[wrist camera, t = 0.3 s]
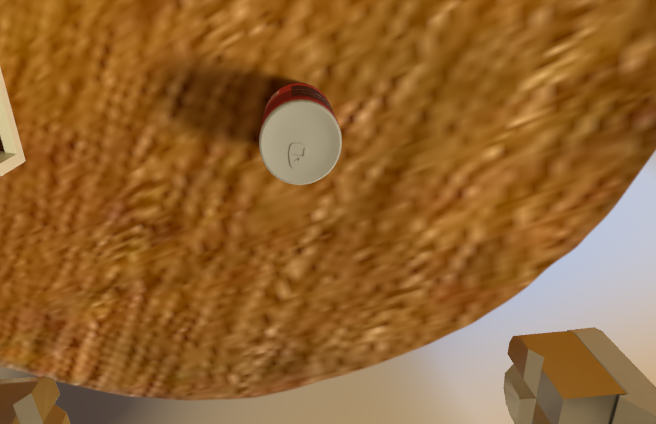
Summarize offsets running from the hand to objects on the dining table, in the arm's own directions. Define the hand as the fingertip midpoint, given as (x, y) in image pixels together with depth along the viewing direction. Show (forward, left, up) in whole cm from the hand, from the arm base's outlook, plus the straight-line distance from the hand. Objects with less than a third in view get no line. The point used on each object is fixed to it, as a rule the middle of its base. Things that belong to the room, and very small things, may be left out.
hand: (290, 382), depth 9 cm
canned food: (+6, +1, -47) cm, 48 cm away
